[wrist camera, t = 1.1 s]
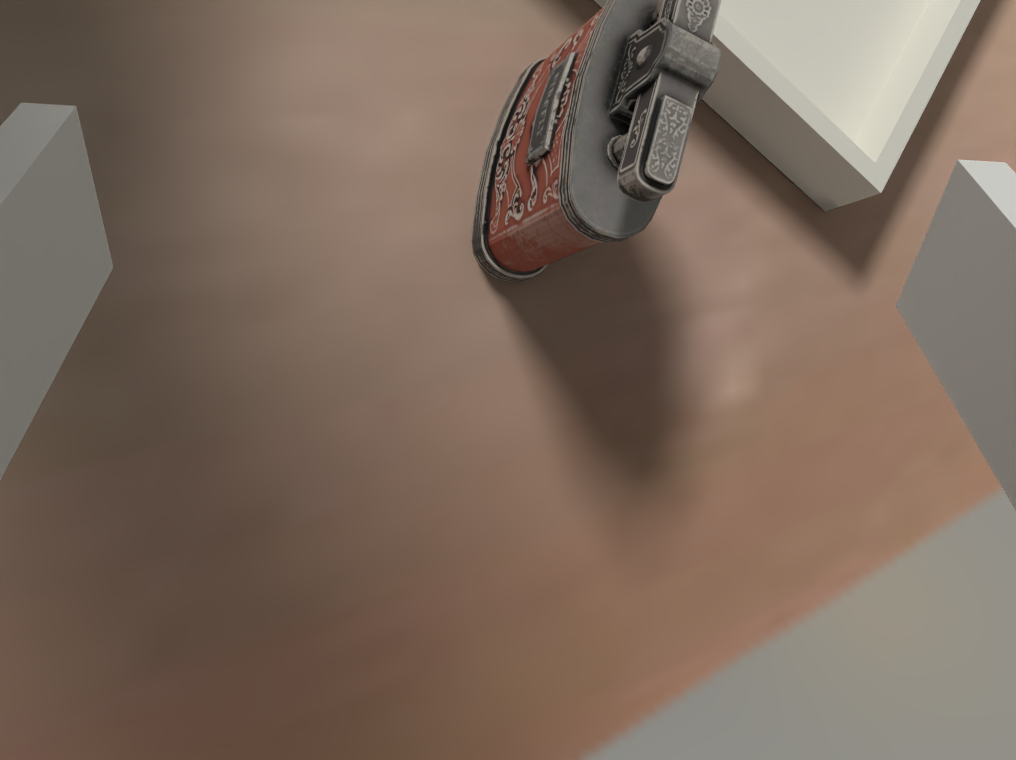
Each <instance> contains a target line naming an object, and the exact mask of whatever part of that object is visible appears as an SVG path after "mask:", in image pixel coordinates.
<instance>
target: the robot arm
mask: <svg viewBox="0 0 1016 760" xmlns="http://www.w3.org/2000/svg"><path fill="white" fill-rule="evenodd" d="M112 269H113V263H112V259H111V254H110V250H109V246H108V241H107V237H106V233H105V228H104V224H103V220H102V215H101V211H100V207H99V202H98V198H97V194H96V189H95V185H94V181H93V176H92V172H91V167H90V163H89V159H88V154H87V150H86V146H85V141H84V137H83V133H82V128H81V124H80V120H79V115H78V111H77V107H76V106H68V105H52V104H36V103H20V104H19V106H18V107H17V108H16V109H15V110H14V111H13V112H12V114H11V115H10V116H9V117H8V118H7V119H6V120H5V121H4V123H3V124H2V125H1V126H0V480H1V478H2V476H3V475H4V473H5V471H6V469H7V467H8V465H9V463H10V461H11V460H12V458H13V456H14V454H15V452H16V450H17V448H18V446H19V444H20V443H21V441H22V439H23V437H24V435H25V433H26V431H27V429H28V428H29V426H30V424H31V422H32V420H33V418H34V416H35V414H36V412H37V411H38V409H39V407H40V405H41V403H42V401H43V399H44V397H45V396H46V394H47V392H48V390H49V388H50V386H51V384H52V382H53V380H54V379H55V377H56V375H57V373H58V371H59V369H60V367H61V365H62V363H63V362H64V360H65V358H66V356H67V354H68V352H69V350H70V348H71V347H72V345H73V343H74V341H75V339H76V337H77V335H78V333H79V331H80V330H81V328H82V326H83V324H84V322H85V320H86V318H87V316H88V315H89V313H90V311H91V309H92V307H93V305H94V303H95V301H96V299H97V298H98V296H99V294H100V292H101V290H102V288H103V286H104V284H105V283H106V281H107V279H108V277H109V275H110V273H111V271H112ZM896 307H897V309H898V311H899V312H900V314H901V316H902V317H903V319H904V321H905V322H906V324H907V326H908V328H909V329H910V331H911V333H912V334H913V336H914V338H915V340H916V341H917V343H918V345H919V346H920V348H921V350H922V351H923V353H924V355H925V357H926V358H927V360H928V362H929V363H930V365H931V367H932V369H933V370H934V372H935V374H936V375H937V377H938V379H939V380H940V382H941V384H942V386H943V387H944V389H945V391H946V392H947V394H948V396H949V398H950V399H951V401H952V403H953V404H954V406H955V408H956V409H957V411H958V413H959V415H960V416H961V418H962V420H963V421H964V423H965V425H966V427H967V428H968V430H969V432H970V433H971V435H972V437H973V438H974V440H975V442H976V444H977V445H978V447H979V449H980V450H981V452H982V454H983V455H984V457H985V459H986V461H987V462H988V464H989V466H990V467H991V469H992V471H993V473H994V474H995V476H996V478H997V479H998V481H999V483H1000V484H1001V486H1002V488H1003V490H1004V491H1005V493H1006V495H1007V496H1008V498H1009V500H1010V502H1011V503H1012V505H1013V507H1014V508H1015V510H1016V173H1015V172H1014V171H1013V170H1012V169H1011V168H1010V167H1009V166H1008V165H1007V164H1006V163H1005V162H988V161H972V160H957V162H956V165H955V167H954V170H953V172H952V174H951V177H950V179H949V181H948V184H947V186H946V188H945V191H944V193H943V196H942V198H941V200H940V203H939V205H938V207H937V210H936V212H935V214H934V217H933V219H932V221H931V224H930V226H929V229H928V231H927V233H926V236H925V238H924V240H923V243H922V245H921V247H920V250H919V252H918V255H917V257H916V259H915V262H914V264H913V266H912V269H911V271H910V273H909V276H908V278H907V281H906V283H905V285H904V288H903V290H902V292H901V295H900V297H899V299H898V302H897V304H896Z"/></svg>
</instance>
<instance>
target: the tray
mask: <svg viewBox="0 0 1016 760" xmlns="http://www.w3.org/2000/svg"><path fill="white" fill-rule="evenodd" d="M594 1H595V2H596V3H597V4H598V5H599V6H600V7H602V8H603V7H604V6H605V5H606V3H607V1H608V0H594ZM980 1H981V0H721V4H720V8H719V12H718V16H717V20H716V24H715V28H714V32H713V36H712V40H711V42H712V43H714V44H715V46H716V47H717V48H719V49H720V50H721V54H722V58H721V62H720V66H719V70H718V73H717V75H716V77H715V79H714V82H713V83H712V85H711V86H710V88H709V89H708V90H707V91H706V92H705V94H704V96H703V97H702V100H703V101H704V102H706V103H707V104H708V105H709V106H710V107H711V108H712V109H713V110H714V111H715V112H717V113H718V114H719V115H720V116H721V117H722V118H723V119H724V120H725V121H726V122H727V123H729V124H730V125H731V126H732V127H733V128H734V129H735V130H736V131H737V132H738V133H740V134H741V135H742V136H743V137H744V138H745V139H746V140H747V141H748V142H749V143H750V144H752V145H753V146H754V147H755V148H756V149H757V150H758V151H759V152H760V153H761V154H763V155H764V156H765V157H766V158H767V159H768V160H769V161H770V162H771V163H772V164H773V165H775V166H776V167H777V168H778V169H779V170H780V171H781V172H782V173H783V174H784V175H785V176H787V177H788V178H789V179H790V180H791V181H792V182H793V183H794V184H795V185H796V186H798V187H799V188H800V189H801V190H802V191H803V192H804V193H805V194H806V195H807V196H808V197H810V198H811V199H812V200H813V201H814V202H815V203H816V204H817V205H818V206H819V207H821V208H822V209H823V210H824V211H825V212H826V211H829V210H832V209H835V208H838V207H841V206H844V205H847V204H850V203H853V202H856V201H859V200H862V199H865V198H868V197H871V196H874V195H877V194H880V193H882V191H883V189H884V187H885V185H886V183H887V181H888V179H889V177H890V175H891V173H892V171H893V169H894V167H895V165H896V164H897V162H898V160H899V158H900V156H901V154H902V152H903V150H904V148H905V146H906V144H907V142H908V140H909V138H910V136H911V134H912V132H913V131H914V129H915V127H916V125H917V123H918V121H919V119H920V117H921V115H922V113H923V111H924V109H925V107H926V105H927V103H928V101H929V100H930V98H931V96H932V94H933V92H934V90H935V88H936V86H937V84H938V82H939V80H940V78H941V76H942V74H943V72H944V70H945V68H946V67H947V65H948V63H949V61H950V59H951V57H952V55H953V53H954V51H955V49H956V47H957V45H958V43H959V41H960V39H961V37H962V36H963V34H964V32H965V30H966V28H967V26H968V24H969V22H970V20H971V18H972V16H973V14H974V12H975V10H976V8H977V6H978V4H979V3H980Z"/></svg>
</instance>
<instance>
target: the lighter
mask: <svg viewBox="0 0 1016 760" xmlns="http://www.w3.org/2000/svg"><path fill="white" fill-rule="evenodd" d="M720 4H721V0H608V1H607V3H606V5H605V6H604V7H603V8H602V9H601V10H600V11H599V12H597V13H596V14H595V15H594V16H593V17H592V18H591V19H590V20H589V21H587V22H586V23H585V24H584V25H583V26H582V27H581V28H580V29H579V30H577V31H576V32H575V33H574V34H573V35H572V36H571V37H570V38H569V39H567V40H566V41H565V42H564V43H563V44H562V45H561V46H560V47H559V48H557V49H556V50H555V51H554V52H553V53H552V54H551V55H550V56H545V57H542V58H540V59H538V60H535V61H534V62H533V63H532V64H531V65H530V66H529V67H528V68H527V69H526V70H525V71H524V72H523V73H522V74H521V75H520V76H519V78H518V80H517V82H516V84H515V86H514V87H513V89H512V91H511V93H510V95H509V97H508V99H507V101H506V103H505V105H504V106H503V108H502V110H501V112H500V115H499V117H498V120H497V123H496V126H495V128H494V131H493V134H492V136H491V139H490V142H489V144H488V147H487V150H486V153H485V157H484V161H483V166H482V171H481V176H480V180H479V185H478V190H477V194H476V201H475V212H474V223H473V234H472V248H473V253H474V255H475V258H476V260H477V262H478V264H479V265H480V266H481V267H482V268H483V269H484V270H485V271H486V272H487V273H488V274H490V275H492V276H493V277H495V278H497V279H499V280H503V281H508V282H517V281H523V280H526V279H528V278H531V277H533V276H535V275H537V274H538V273H540V272H542V271H543V270H544V269H545V268H546V266H547V265H548V264H550V263H552V262H554V261H557V260H559V259H561V258H564V257H566V256H569V255H571V254H573V253H576V252H578V251H580V250H583V249H585V248H588V247H590V246H592V245H595V244H597V243H599V242H602V243H611V242H619V241H622V240H624V239H626V238H629V237H631V236H633V235H635V234H637V233H639V232H641V231H643V230H644V229H645V228H646V226H647V225H648V224H649V222H650V221H651V220H652V217H653V215H654V213H655V211H656V209H657V207H658V204H659V202H660V200H661V198H662V196H663V195H665V194H667V193H669V192H670V191H671V190H672V189H673V188H674V186H675V183H676V181H677V177H678V173H679V169H680V165H681V161H682V157H683V153H684V149H685V145H686V141H687V137H688V133H689V129H690V125H691V121H692V117H693V113H694V109H695V106H696V105H697V104H698V103H699V102H700V101H701V99H702V97H703V96H704V94H705V92H706V91H707V90H708V89H709V88H710V86H711V85H712V83H713V82H714V79H715V77H716V75H717V73H718V70H719V66H720V62H721V58H722V54H721V50H720V49H719V48H717V47H716V46H715V44H714V43H712V42H711V40H712V36H713V32H714V28H715V24H716V20H717V16H718V12H719V8H720Z"/></svg>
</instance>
